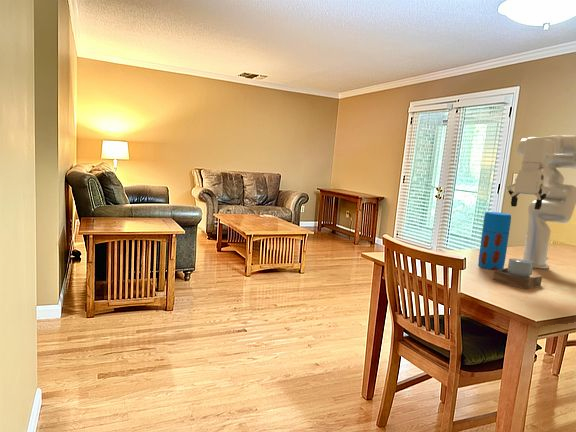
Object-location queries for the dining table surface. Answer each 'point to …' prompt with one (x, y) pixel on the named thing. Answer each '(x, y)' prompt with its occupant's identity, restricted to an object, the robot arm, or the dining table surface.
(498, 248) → the blue domino block
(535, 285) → the caddy
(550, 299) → the dining table surface
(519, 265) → the grey-blue mug
